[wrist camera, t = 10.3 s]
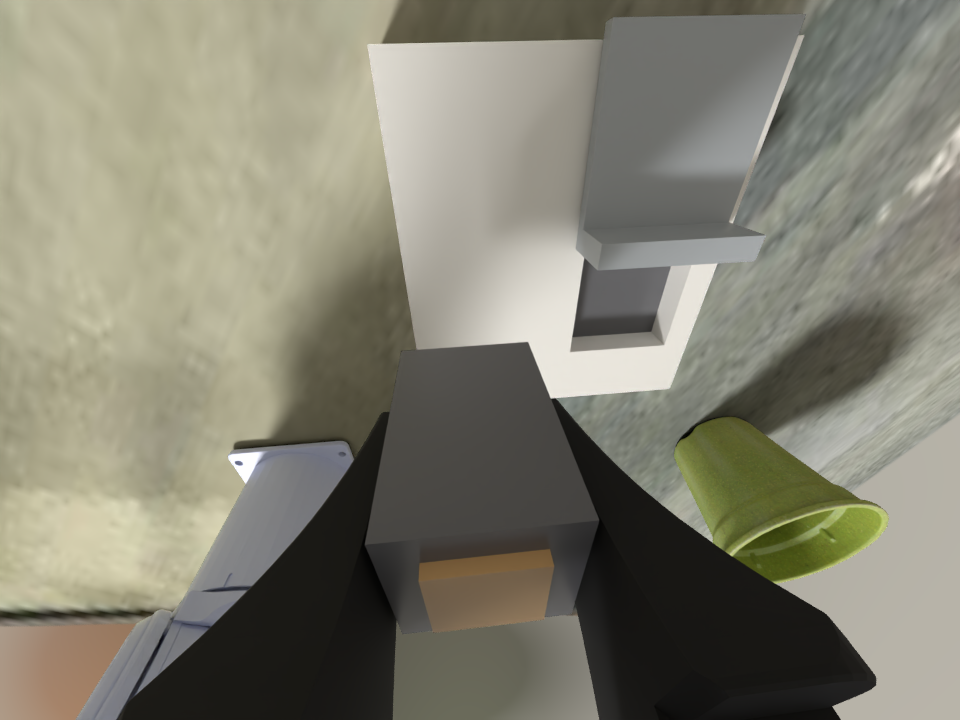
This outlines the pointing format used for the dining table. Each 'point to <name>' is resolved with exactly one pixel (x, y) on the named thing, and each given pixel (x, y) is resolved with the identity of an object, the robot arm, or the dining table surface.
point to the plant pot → (772, 503)
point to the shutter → (678, 136)
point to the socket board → (521, 214)
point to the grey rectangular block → (477, 494)
